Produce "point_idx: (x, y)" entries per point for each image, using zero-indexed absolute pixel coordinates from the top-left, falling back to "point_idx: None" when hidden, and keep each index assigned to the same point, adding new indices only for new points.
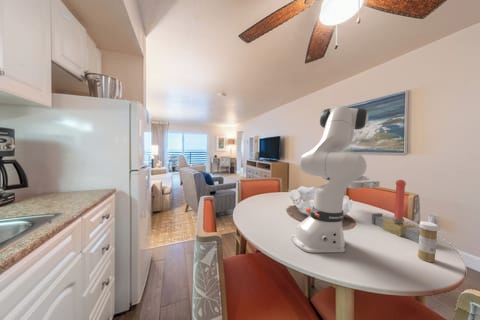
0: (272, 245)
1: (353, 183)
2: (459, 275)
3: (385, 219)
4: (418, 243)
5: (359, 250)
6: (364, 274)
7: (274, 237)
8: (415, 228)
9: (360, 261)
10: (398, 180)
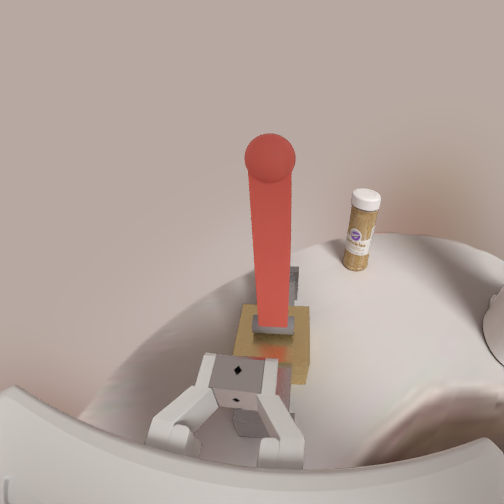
0: None
1: (480, 438)
2: None
3: (299, 361)
4: (296, 298)
5: (464, 300)
6: (477, 260)
7: None
8: None
9: (473, 278)
10: (284, 140)
